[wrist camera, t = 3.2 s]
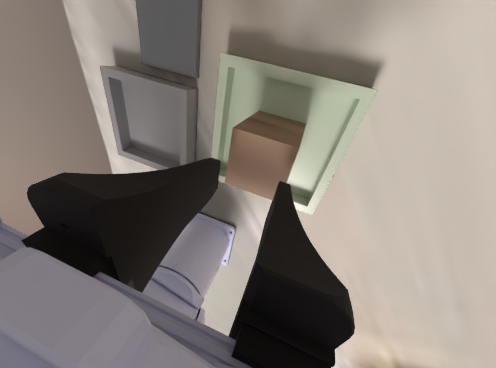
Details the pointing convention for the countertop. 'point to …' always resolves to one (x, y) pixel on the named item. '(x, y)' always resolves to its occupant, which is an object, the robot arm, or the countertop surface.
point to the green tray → (291, 117)
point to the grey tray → (151, 117)
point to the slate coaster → (170, 34)
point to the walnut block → (263, 152)
